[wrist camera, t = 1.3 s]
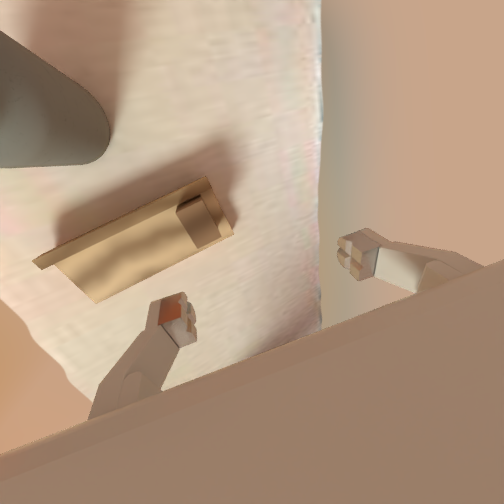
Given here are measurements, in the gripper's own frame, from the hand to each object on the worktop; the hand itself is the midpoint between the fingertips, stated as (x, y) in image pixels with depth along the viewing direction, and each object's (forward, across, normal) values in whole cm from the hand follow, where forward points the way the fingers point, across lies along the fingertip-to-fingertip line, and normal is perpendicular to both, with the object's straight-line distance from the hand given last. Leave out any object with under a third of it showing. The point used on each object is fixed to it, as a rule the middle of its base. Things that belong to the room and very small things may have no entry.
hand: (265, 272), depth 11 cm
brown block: (+25, -5, -6) cm, 26 cm away
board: (+26, -14, -8) cm, 31 cm away
